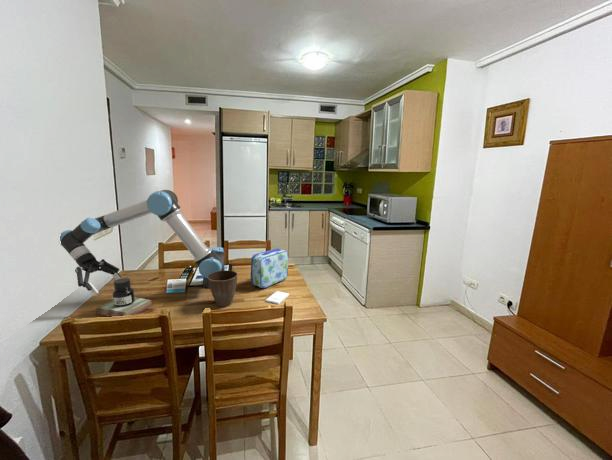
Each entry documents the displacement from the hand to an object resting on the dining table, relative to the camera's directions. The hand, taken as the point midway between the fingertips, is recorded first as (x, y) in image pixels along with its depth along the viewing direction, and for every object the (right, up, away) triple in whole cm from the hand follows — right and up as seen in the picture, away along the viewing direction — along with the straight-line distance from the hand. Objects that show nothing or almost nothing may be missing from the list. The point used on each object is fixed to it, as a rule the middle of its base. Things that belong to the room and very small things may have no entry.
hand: (110, 288), depth 143 cm
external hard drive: (+82, -9, +15) cm, 84 cm away
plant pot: (+55, -10, +8) cm, 56 cm away
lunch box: (+76, -4, +37) cm, 84 cm away
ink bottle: (+8, -7, 0) cm, 11 cm away
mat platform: (+8, -11, 0) cm, 13 cm away
